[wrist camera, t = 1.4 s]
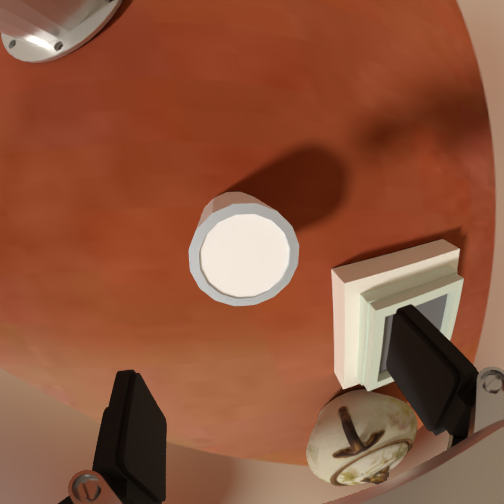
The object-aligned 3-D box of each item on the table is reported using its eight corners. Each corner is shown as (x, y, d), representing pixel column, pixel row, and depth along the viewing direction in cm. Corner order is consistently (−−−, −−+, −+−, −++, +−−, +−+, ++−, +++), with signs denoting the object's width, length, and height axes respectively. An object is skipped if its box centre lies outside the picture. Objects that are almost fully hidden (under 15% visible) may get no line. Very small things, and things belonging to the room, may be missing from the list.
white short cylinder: (182, 194, 23) (174, 218, 17) (267, 175, 24) (291, 191, 17) (203, 271, 26) (204, 317, 20) (281, 253, 27) (305, 293, 20)
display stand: (331, 268, 28) (358, 299, 23) (442, 238, 29) (476, 258, 24) (334, 372, 33) (352, 406, 28) (428, 336, 34) (452, 362, 29)
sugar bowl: (402, 409, 40) (443, 475, 27) (322, 453, 41) (350, 525, 28) (377, 341, 33) (444, 434, 19) (267, 402, 34) (297, 510, 20)
